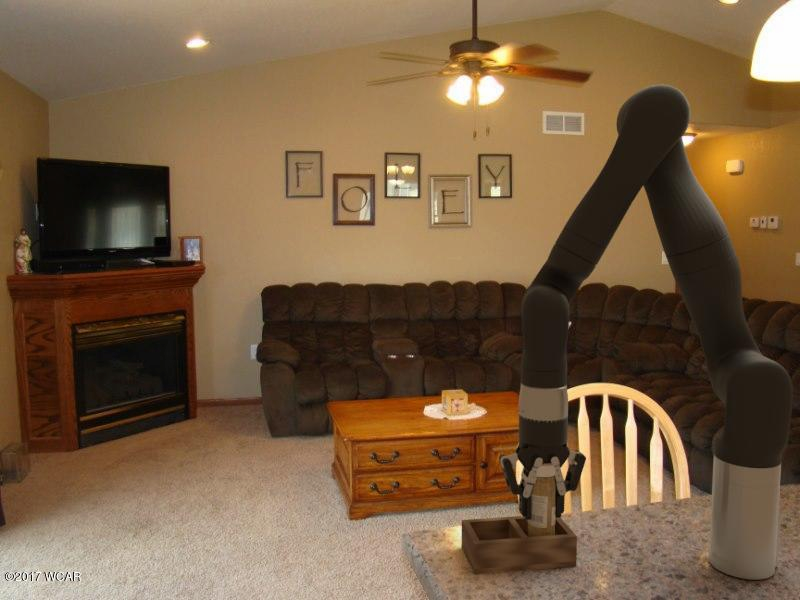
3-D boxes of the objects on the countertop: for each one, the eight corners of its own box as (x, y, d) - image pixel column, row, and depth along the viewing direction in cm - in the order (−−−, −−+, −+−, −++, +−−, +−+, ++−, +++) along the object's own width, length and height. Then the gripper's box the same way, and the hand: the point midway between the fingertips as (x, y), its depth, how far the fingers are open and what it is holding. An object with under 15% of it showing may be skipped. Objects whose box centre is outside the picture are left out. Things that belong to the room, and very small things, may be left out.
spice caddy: (556, 541, 118) (556, 513, 117) (576, 566, 109) (577, 536, 109) (461, 548, 116) (461, 520, 115) (474, 574, 107) (474, 544, 107)
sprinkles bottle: (561, 543, 112) (563, 462, 111) (540, 551, 110) (542, 467, 108) (540, 533, 116) (542, 453, 114) (520, 540, 113) (521, 459, 112)
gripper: (506, 421, 106) (505, 530, 108) (596, 416, 108) (594, 523, 110) (492, 407, 113) (491, 510, 115) (577, 403, 115) (575, 504, 117)
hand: (541, 516), depth 112 cm, fingers closed on sprinkles bottle, 4 cm apart
